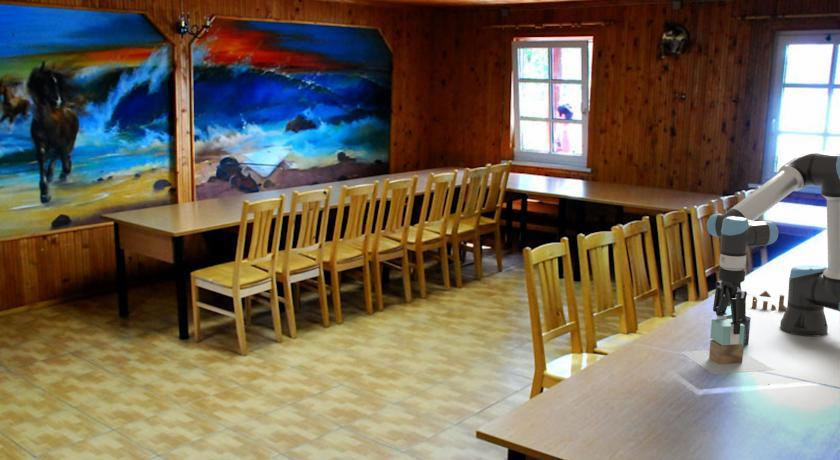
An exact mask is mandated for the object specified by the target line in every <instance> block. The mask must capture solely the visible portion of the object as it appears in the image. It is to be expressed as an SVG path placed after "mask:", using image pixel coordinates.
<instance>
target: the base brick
mask: <svg viewBox="0 0 840 460" xmlns="http://www.w3.org/2000/svg"><path fill="white" fill-rule="evenodd" d="M744 346H745V345H744V344H738V345H721V344H719V343H717V342H716V341H714V340H713V339H710V342H709V350H710V354H709V359H711V360H712V361H714V362H716V363H717V364H731V363H742V360H743V352H744Z"/></svg>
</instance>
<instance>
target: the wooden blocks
mask: <svg viewBox="0 0 840 460" xmlns="http://www.w3.org/2000/svg"><path fill="white" fill-rule="evenodd" d="M759 297H764V298H771V297H772V296H771V294H770V293H769V292H768V291H767V290H764V291H763V292H761V293H760V294H759ZM762 302H763V303H762V310H768V302H769V301H767V300H763V301H762ZM784 302H785V294H779V301H778V310H781V311H780V312H785V311H786V309H787V306H785V304H784ZM757 305H758V299H757V297H756V296H755V295H753V296H752V303H751V308H752V309H757ZM728 306H730V302H728ZM776 308H777V306H776V305H775V304H773V303H772V304H771V310H776Z"/></svg>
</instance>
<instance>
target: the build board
mask: <svg viewBox="0 0 840 460" xmlns="http://www.w3.org/2000/svg"><path fill="white" fill-rule="evenodd" d="M680 353H681V354H682V355H684V356H685V357H686V358H689V359H690V360H691V361H693V362H694V363H696V364H697V365H699V366H700V367H702V368H703V369H704V370H706V371H708V373H711V374H712V375H718V374H719V375H720V374H732V373H733V374H734V373H749V372H759V371H761V372H764V371H774V370H775V369H774V368H772V367H770V366H769V365H767V364H765V363H763V362H762V361H760V360H758V359H757V358H754V357H753V356H751V355H750V354H748V353H747V352H744V351H743V360H742V363H731V364H717V363H716V362H714V361H712V360H711V359H709V354H710V349H707V350H705V349H704V350H703V349H702V350H691V351H689V350H687V351H680Z"/></svg>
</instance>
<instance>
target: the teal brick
mask: <svg viewBox="0 0 840 460" xmlns="http://www.w3.org/2000/svg"><path fill="white" fill-rule="evenodd" d="M730 322H732V319H717V318H716V319H711V325H710V338H709V339H710V340H714V341H716V342H717V343H719V344H721V345H738V344H729V340H730V327H731V323H730ZM744 328H745V325H743V324H741V325H740V334H739V344H743V340H744Z"/></svg>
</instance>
